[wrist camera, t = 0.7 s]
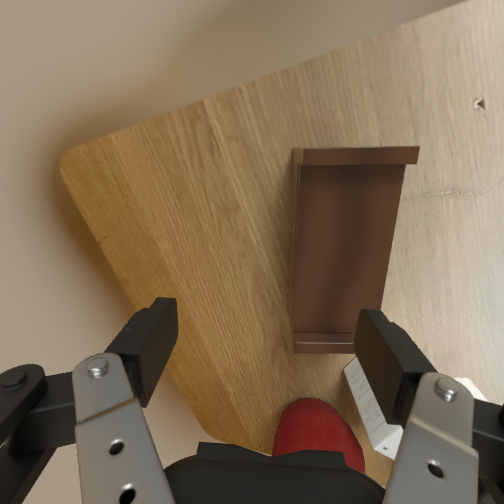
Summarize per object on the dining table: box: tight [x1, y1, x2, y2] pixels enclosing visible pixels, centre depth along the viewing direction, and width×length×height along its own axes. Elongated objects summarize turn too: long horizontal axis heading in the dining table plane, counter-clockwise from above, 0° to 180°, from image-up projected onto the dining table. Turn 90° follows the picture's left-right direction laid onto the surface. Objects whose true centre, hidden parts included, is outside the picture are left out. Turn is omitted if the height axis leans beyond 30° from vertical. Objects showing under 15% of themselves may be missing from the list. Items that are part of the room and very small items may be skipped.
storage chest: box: [288, 146, 420, 354], centre depth 26 cm, size 8×18×8 cm, turn 1°
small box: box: [344, 356, 403, 460], centre depth 30 cm, size 8×6×10 cm
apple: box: [272, 398, 365, 474], centre depth 33 cm, size 11×11×12 cm
